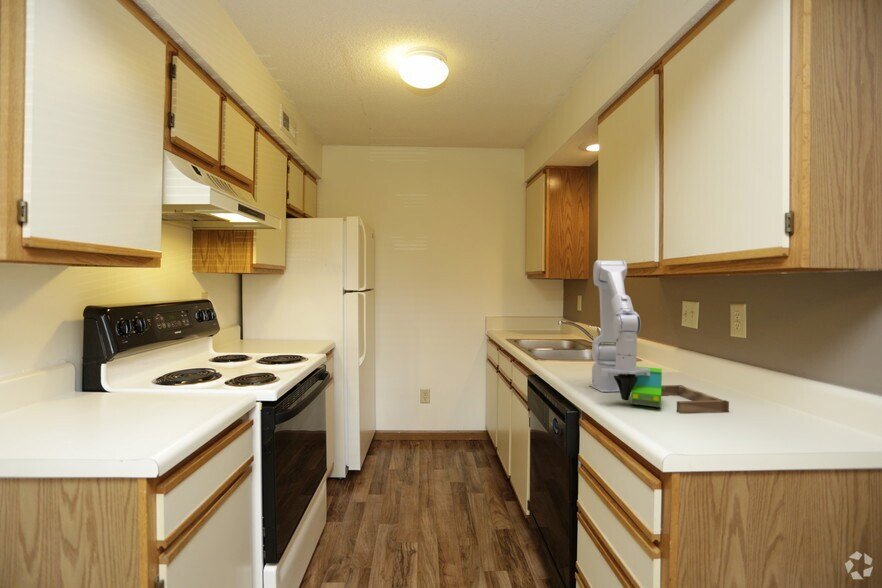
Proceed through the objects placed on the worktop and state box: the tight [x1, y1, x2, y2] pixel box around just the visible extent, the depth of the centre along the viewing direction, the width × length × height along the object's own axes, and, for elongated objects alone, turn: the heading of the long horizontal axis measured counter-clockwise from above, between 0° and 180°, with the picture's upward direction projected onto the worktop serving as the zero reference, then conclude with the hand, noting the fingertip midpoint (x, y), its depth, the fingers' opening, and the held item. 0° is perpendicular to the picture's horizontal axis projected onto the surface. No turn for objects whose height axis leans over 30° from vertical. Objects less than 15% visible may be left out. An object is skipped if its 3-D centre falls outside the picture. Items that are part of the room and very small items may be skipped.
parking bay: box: [661, 384, 730, 414], centre depth 132 cm, size 20×15×3 cm
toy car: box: [630, 366, 665, 410], centre depth 130 cm, size 10×13×10 cm
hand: (625, 399), depth 130 cm, fingers closed
